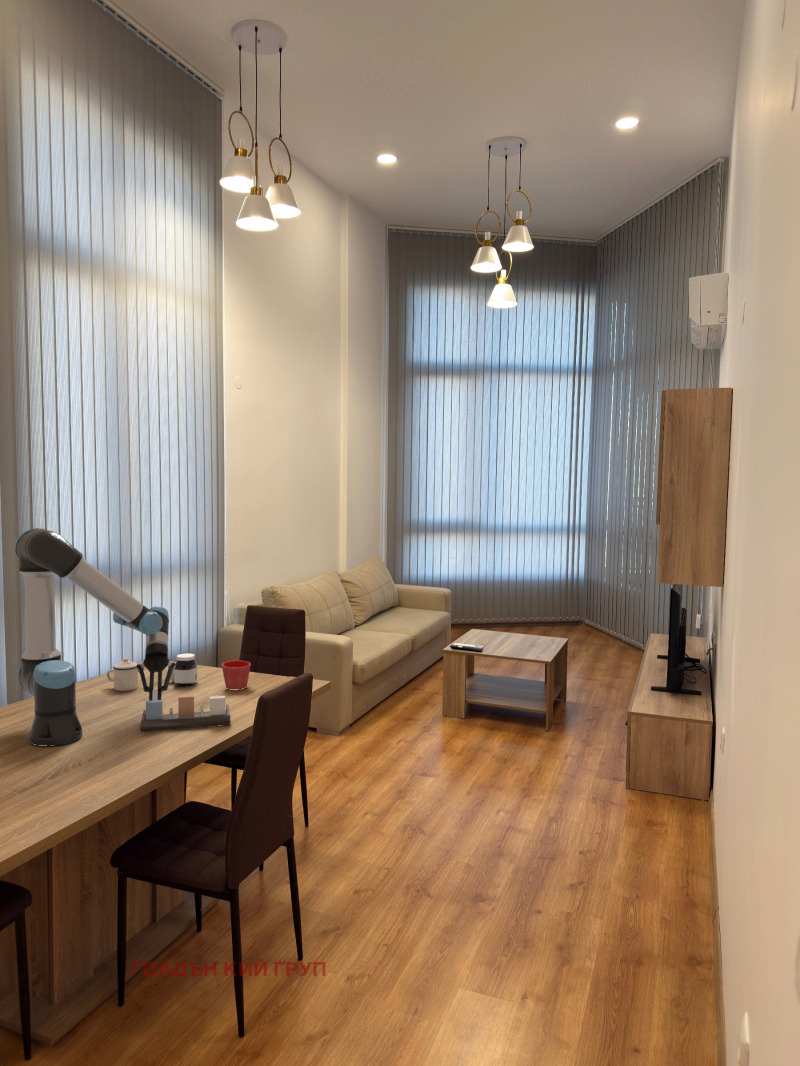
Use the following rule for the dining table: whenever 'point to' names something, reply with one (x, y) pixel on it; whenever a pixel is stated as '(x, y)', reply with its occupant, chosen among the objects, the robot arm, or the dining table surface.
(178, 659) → the spread jar
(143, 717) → the grey compartment tray
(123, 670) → the teacup with lid
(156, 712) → the key slate
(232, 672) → the flower pot
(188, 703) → the key terracotta
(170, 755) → the dining table surface
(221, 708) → the key offwhite
